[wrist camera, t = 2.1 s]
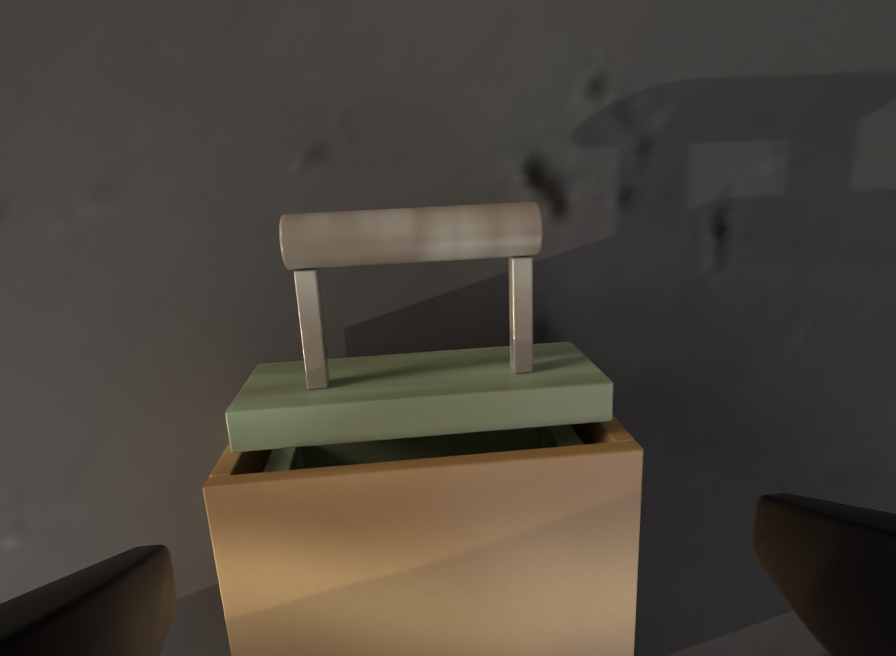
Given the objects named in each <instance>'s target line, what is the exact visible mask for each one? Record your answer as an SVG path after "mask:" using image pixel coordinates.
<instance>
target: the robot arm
mask: <svg viewBox="0 0 896 656" xmlns="http://www.w3.org/2000/svg"><path fill="white" fill-rule="evenodd" d="M752 545H753V550H754V554H755V556H756V558H757V560H758V561H759V563H760V564H761V566H762V567H763V568H764V570H765V571H766V572H767V574H768V575H769V577H770V578H771V579H772V581H773V582H774V583H775V585H776V586H777V588H778V589H779V590H780V592H781V593H782V594H783V596H784V597H785V599H786V600H787V601H788V603H789V604H790V605H791V607H792V608H793V610H794V611H795V612H796V614H797V615H798V616H799V618H800V619H801V621H802V622H803V623H804V625H805V626H806V627H807V628H808V630H809V631H810V632H811V634H812V635H813V636H814V637H815V639H816V640H817V641H818V642H819V643H820V644H821V646H822V647H823V648H824V649H825V650H826V651H827V653H828V654H829V655H830V656H896V514H893V513H888V512H882V511H877V510H872V509H866V508H861V507H856V506H851V505H845V504H840V503H835V502H829V501H824V500H819V499H813V498H808V497H803V496H798V495H792V494H784V493H781V494H768V495H763V496H761V497H760V498H759V499H758V501H757V505H756V512H755V520H754V529H753V537H752ZM176 606H177V590H176V585H175V579H174V573H173V568H172V562H171V557H170V552H169V550H168V548H167V547H166V546H164V545H149V546H139V547H135V548H133V549H130V550H128V551H125V552H123V553H121V554H118V555H116V556H113V557H111V558H109V559H106V560H104V561H102V562H99V563H97V564H94V565H92V566H90V567H87V568H85V569H82V570H80V571H78V572H75V573H73V574H70V575H68V576H66V577H63V578H61V579H59V580H56V581H54V582H51V583H49V584H47V585H44V586H42V587H39V588H37V589H35V590H32V591H30V592H27V593H25V594H23V595H20V596H18V597H15V598H13V599H11V600H8V601H6V602H4V603H1V604H0V656H159V655H160V652H161V650H162V647H163V644H164V642H165V639H166V636H167V633H168V631H169V628H170V625H171V622H172V620H173V617H174V614H175V611H176Z"/></svg>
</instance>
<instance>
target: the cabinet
mask: <svg viewBox="0 0 896 656" xmlns="http://www.w3.org/2000/svg"><path fill="white" fill-rule="evenodd" d="M571 427H572V428H573V429H574V431H575V432H576V434H577V435H578V436H579V438H580V439H581V441H582V442H583V443H584V445H575V446H564V447H552V448H540V449H529V450H517V451H506V452H494V453H482V454H471V455H459V456H448V457H436V458H424V459H413V460H401V461H390V462H378V463H367V464H355V465H343V466H332V467H320V468H309V469H297V470H285V471H274V472H263V471H264V468H265V466H266V463H267V461H268V459H269V456H270V454H271V451H272V449H271V450H259V451H247V452H235V453H232V452H231V448H230V442H229V444H228V446H227V447H226V449H225V451H224V452H223V454H222V456H221V458H220V459H219V461H218V463H217V464H216V466H215V468H214V470H213V471H212V473H211V475H210V477H209V478H208V480H207V481H206V483H205V485H204V486H203V494H204V499H205V505H206V511H207V517H208V523H209V528H210V534H211V540H212V546H213V552H214V557H215V563H216V569H217V575H218V581H219V586H220V592H221V598H222V604H223V610H224V615H225V621H226V627H227V633H228V639H229V644H230V650H231V656H634V642H635V621H636V600H637V579H638V558H639V537H640V516H641V495H642V474H643V453H644V450H643V448H642V447H641V446H640V445H639V444H638V443H637V441H635V439H634V438H633V437H632V436H631V435H630V433H629V432H628V431H627V430H626V429H625V428H624V427H623V426H622V425H621V424H620V423H619V421H618V420H617V419H616V418H615V417H614V416H613V419H612V421H607V422H595V423H583V424H571Z"/></svg>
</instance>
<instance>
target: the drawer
mask: <svg viewBox="0 0 896 656" xmlns="http://www.w3.org/2000/svg"><path fill="white" fill-rule="evenodd" d="M279 238H280V248H281V254H282V258H283V262H284V264H285V266H286V268H287V269H289V270H295V271H294V278H295V287H296V296H297V304H298V313H299V322H300V331H301V339H302V348H303V357H304V361H291V362H277V363H263V364H258V365H257V366H256V368H255V369H254V371H253V372H252V374H251V375H250V377H249V378H248V380H247V381H246V383H245V384H244V386H243V387H242V388H241V390H240V391H239V393H238V394H237V396H236V397H235V399H234V400H233V402H232V403H231V405H230V406H229V408H228V409H227V411H226V412H225V416H226V422H227V429H228V435H229V442H230V448H231V452H232V453H235V452H247V451H259V450H271V449H272V451H271V454H270V456H269V459H268V461H267V463H266V466H265V468H264V471H263V472H274V471H285V470H297V469H309V468H320V467H332V466H343V465H355V464H367V463H378V462H390V461H401V460H413V459H424V458H436V457H448V456H459V455H471V454H482V453H494V452H506V451H517V450H529V449H540V448H552V447H564V446H575V445H584V443H583V442H582V441H581V439H580V438H579V436H578V435H577V434H576V432H575V431H574V429H573V428H572V427H571V424H583V423H595V422H607V421H612V419H613V388H614V383H613V381H611V380H610V379H609V378H608V377H607V376H606V375H605V374H604V373H603V372H602V371H601V370H600V369H599V368H598V367H597V366H596V365H595V364H593V363H592V362H591V361H590V360H589V359H588V358H587V357H586V356H585V355H584V354H583V353H582V352H581V351H580V350H579V349H578V348H577V347H576V346H574V345H573V344H572V343H571V342H557V343H543V344H533V259H532V257H530V256H535V255H538V254H539V253H540V251H541V248H542V243H543V218H542V213H541V209H540V206H539V204H538V203H537V202H534V201H533V202H513V203H494V204H474V205H455V206H435V207H416V208H396V209H377V210H357V211H338V212H318V213H299V214H284V215H282V216H281V219H280V225H279ZM501 257H509V258H508V263H509V320H510V346H501V347H487V348H473V349H459V350H445V351H431V352H417V353H403V354H389V355H375V356H361V357H347V358H333V359H328V357H327V348H326V338H325V328H324V319H323V309H322V299H321V290H320V280H319V270H318V268H331V267H348V266H365V265H382V264H399V263H416V262H433V261H450V260H467V259H484V258H501Z"/></svg>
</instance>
